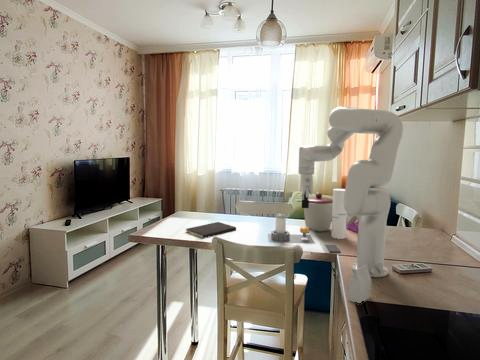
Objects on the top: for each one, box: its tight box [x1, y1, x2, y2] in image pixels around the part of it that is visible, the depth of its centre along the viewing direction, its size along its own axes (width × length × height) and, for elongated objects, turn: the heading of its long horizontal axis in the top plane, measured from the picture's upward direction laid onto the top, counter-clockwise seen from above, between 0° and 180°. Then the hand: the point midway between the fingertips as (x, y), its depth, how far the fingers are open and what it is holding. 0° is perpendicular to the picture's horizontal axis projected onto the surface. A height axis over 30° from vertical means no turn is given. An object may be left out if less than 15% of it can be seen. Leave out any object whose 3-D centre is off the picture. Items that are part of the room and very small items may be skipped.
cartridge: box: [274, 213, 287, 234], centre depth 152 cm, size 5×5×12 cm
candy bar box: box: [346, 213, 361, 234], centre depth 171 cm, size 11×5×16 cm, turn 22°
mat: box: [324, 244, 342, 254], centre depth 140 cm, size 9×9×1 cm
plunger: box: [299, 226, 310, 237], centre depth 152 cm, size 4×4×4 cm
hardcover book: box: [185, 221, 237, 239], centre depth 169 cm, size 16×23×2 cm
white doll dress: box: [347, 265, 372, 304], centre depth 94 cm, size 4×7×10 cm, turn 130°
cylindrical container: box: [330, 188, 347, 240], centre depth 158 cm, size 7×7×25 cm
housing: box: [267, 229, 316, 244], centre depth 152 cm, size 14×22×4 cm, turn 87°
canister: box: [303, 192, 333, 232], centre depth 172 cm, size 18×18×21 cm
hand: (305, 207), depth 151 cm, fingers closed
